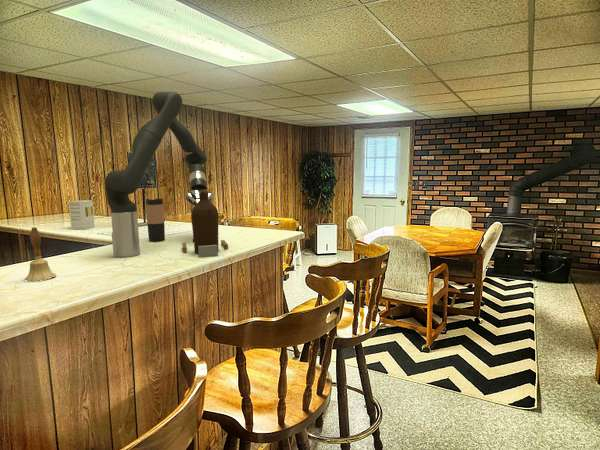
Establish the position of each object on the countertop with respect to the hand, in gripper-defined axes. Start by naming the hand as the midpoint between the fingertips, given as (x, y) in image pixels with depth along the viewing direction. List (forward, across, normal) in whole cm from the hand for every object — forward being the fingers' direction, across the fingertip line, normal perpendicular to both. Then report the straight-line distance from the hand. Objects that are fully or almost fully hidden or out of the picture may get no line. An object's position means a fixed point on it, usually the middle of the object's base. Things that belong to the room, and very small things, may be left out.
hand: (201, 210), depth 167 cm
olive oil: (+23, 0, -1) cm, 23 cm away
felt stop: (+29, 0, -7) cm, 30 cm away
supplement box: (-49, -64, +70) cm, 107 cm away
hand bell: (+38, -52, -15) cm, 66 cm away
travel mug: (-3, -20, +24) cm, 32 cm away
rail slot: (+18, 0, +4) cm, 18 cm away
